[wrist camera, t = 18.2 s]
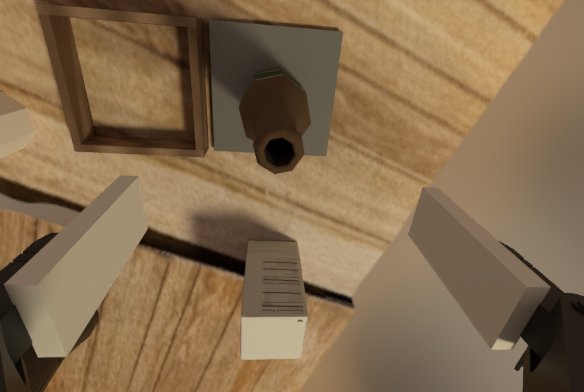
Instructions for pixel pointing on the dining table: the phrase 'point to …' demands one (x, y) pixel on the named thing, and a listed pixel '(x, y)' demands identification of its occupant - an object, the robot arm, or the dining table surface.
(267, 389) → the dining table surface
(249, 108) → the beer bottle
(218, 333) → the dining table surface
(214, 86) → the slate pad
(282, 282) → the supplement box
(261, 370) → the dining table surface
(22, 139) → the mug
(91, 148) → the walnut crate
